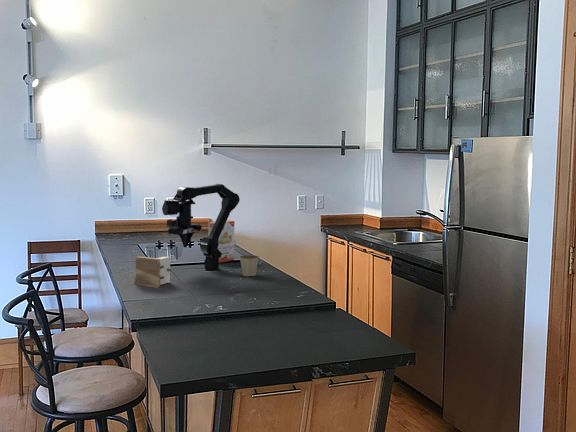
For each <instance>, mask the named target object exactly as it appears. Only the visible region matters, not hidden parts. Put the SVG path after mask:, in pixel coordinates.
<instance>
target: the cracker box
mask: <svg viewBox="0 0 576 432" xmlns="http://www.w3.org/2000/svg"><path fill="white" fill-rule="evenodd" d="M214 224H215V221H210V222H209V221H208V231H207V233H208V235H207V236H209V234H210V232H211V230H212V228H213V226H214ZM218 250H219V251H220V252H221V253H222V255H221V257H220V258H219V264H221V263H226V262H232V261H231V260H233V261H234V260H235V220H231V219H230V220H229V219H227V221H226V223H225V226H224V228H223V230H222V232H221V234H220V237H219V245H218Z"/></svg>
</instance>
